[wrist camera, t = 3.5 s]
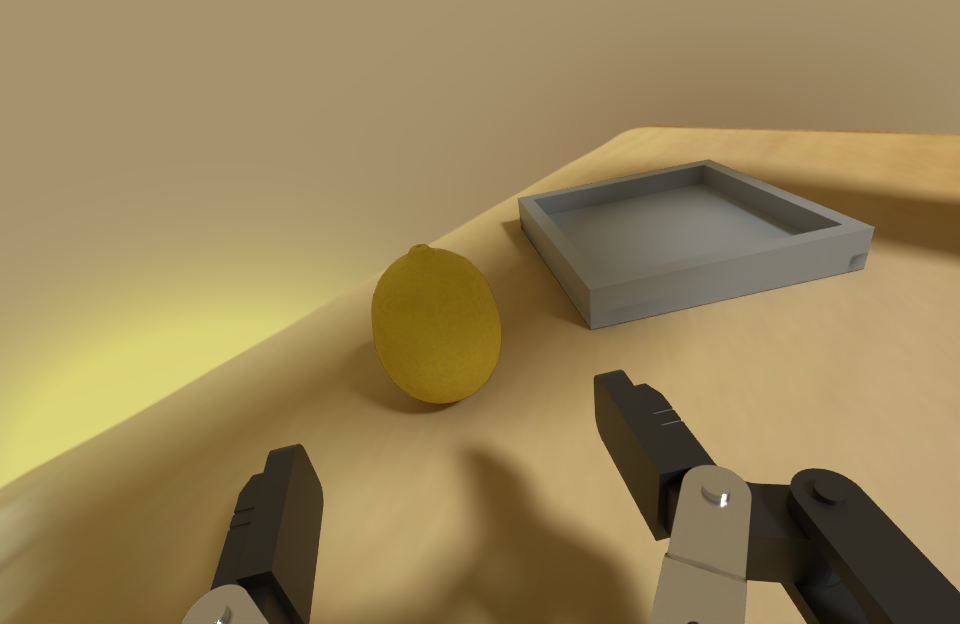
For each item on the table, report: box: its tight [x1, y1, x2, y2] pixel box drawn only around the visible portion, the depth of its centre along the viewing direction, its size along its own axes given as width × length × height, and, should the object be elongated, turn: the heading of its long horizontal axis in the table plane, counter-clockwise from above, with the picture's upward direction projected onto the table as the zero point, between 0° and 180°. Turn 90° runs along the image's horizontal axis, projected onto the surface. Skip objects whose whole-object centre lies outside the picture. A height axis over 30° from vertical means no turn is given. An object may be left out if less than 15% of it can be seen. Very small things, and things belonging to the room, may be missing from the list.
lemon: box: [372, 244, 502, 404], centre depth 22 cm, size 6×6×8 cm
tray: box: [518, 160, 875, 330], centre depth 34 cm, size 16×16×2 cm
